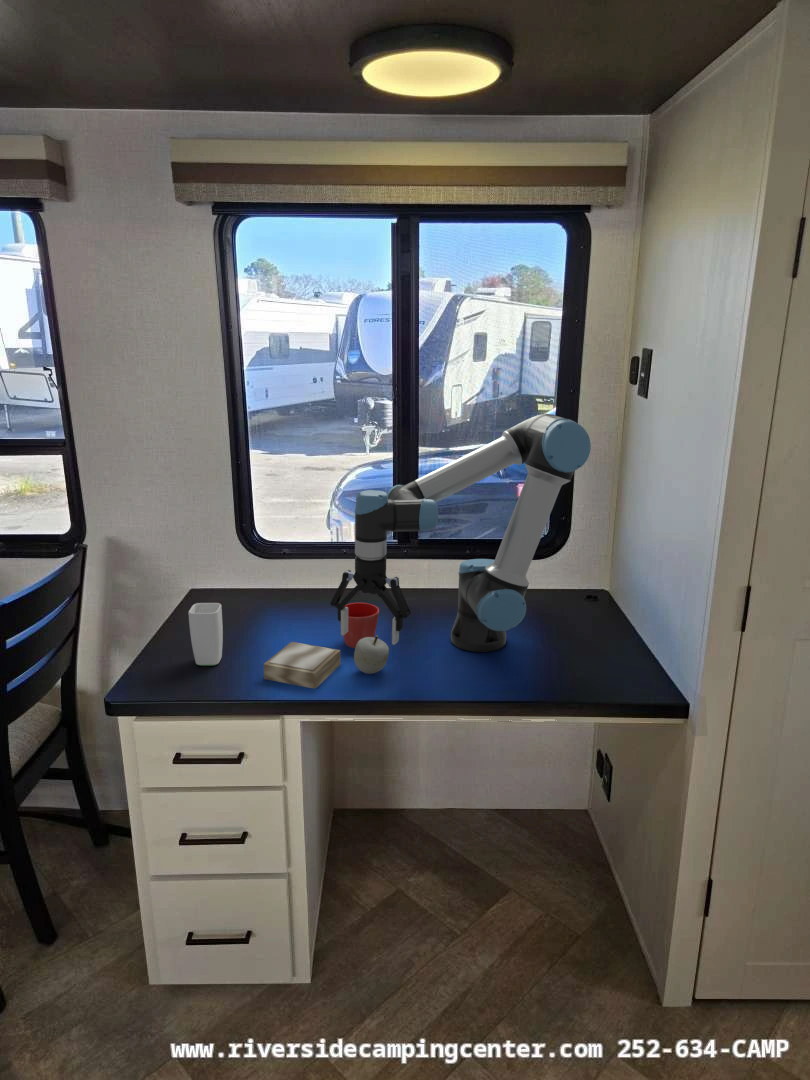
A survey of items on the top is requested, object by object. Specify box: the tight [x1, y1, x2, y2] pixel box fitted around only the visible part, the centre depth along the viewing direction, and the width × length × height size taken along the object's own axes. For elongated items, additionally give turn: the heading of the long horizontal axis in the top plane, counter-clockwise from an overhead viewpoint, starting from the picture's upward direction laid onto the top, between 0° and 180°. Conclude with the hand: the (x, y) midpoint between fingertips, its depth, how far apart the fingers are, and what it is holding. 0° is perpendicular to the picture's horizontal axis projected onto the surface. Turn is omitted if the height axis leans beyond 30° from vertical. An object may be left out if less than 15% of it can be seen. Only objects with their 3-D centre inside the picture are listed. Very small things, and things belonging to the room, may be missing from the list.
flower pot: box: [339, 602, 380, 649], centre depth 199 cm, size 11×11×10 cm
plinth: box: [263, 641, 342, 690], centre depth 183 cm, size 14×14×4 cm
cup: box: [187, 602, 224, 667], centre depth 186 cm, size 7×7×15 cm
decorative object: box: [353, 634, 390, 675], centre depth 182 cm, size 9×9×10 cm
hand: (369, 637), depth 181 cm, fingers open, 13 cm apart
